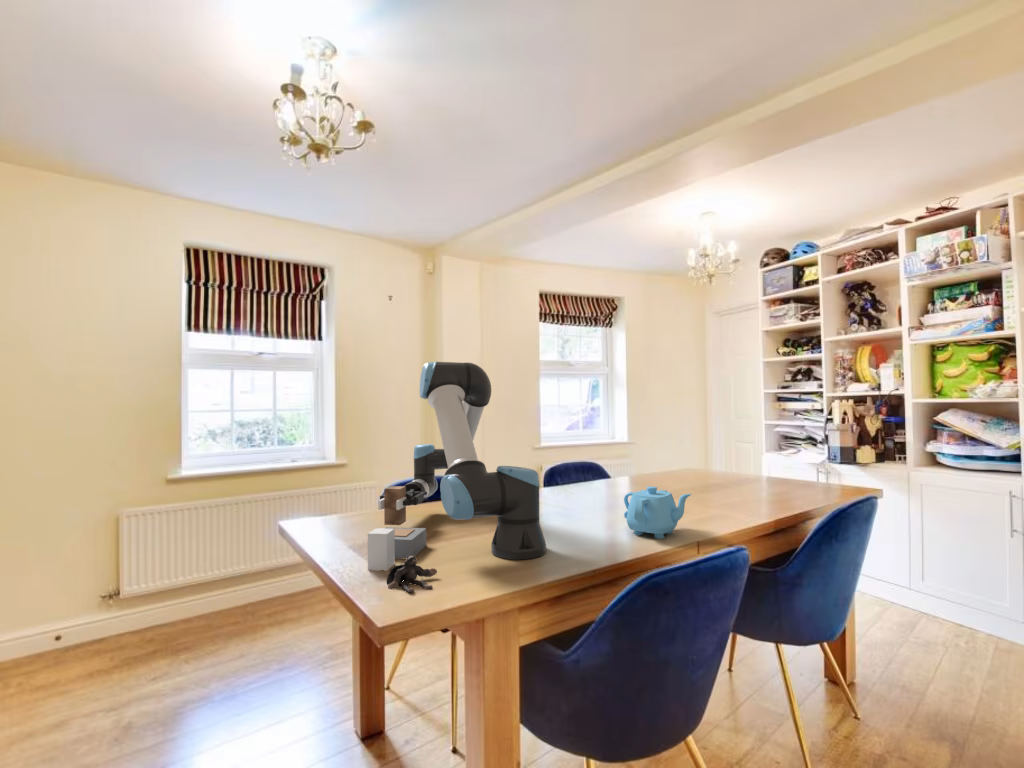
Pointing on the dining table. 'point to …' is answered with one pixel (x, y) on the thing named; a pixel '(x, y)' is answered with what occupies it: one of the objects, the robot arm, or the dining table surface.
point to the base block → (408, 541)
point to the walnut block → (394, 505)
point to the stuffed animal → (408, 575)
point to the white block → (381, 549)
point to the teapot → (653, 511)
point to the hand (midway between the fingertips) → (388, 505)
